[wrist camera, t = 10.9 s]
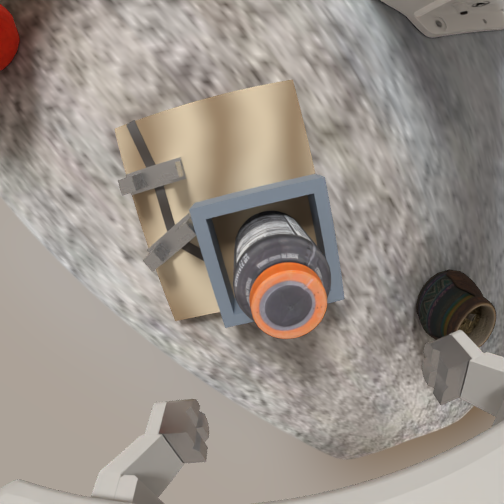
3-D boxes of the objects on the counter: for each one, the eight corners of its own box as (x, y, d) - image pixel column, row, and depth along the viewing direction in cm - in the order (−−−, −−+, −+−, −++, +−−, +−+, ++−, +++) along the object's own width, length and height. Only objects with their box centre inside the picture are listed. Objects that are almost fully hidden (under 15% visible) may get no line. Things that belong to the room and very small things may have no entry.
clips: (182, 156, 24) (176, 157, 22) (209, 252, 27) (206, 262, 24) (125, 174, 24) (114, 177, 22) (154, 265, 27) (146, 276, 24)
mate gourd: (434, 332, 32) (478, 383, 22) (394, 306, 30) (439, 361, 21) (470, 282, 30) (523, 322, 20) (434, 249, 28) (493, 288, 19)
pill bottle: (296, 282, 28) (327, 360, 17) (229, 272, 27) (223, 349, 16) (312, 216, 26) (359, 263, 15) (241, 203, 25) (241, 243, 15)
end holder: (315, 173, 25) (324, 177, 22) (334, 284, 28) (344, 299, 25) (194, 202, 25) (188, 209, 22) (226, 310, 28) (225, 327, 26)
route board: (290, 81, 23) (292, 78, 22) (332, 280, 29) (335, 285, 28) (118, 128, 24) (113, 127, 23) (177, 315, 30) (175, 321, 28)
